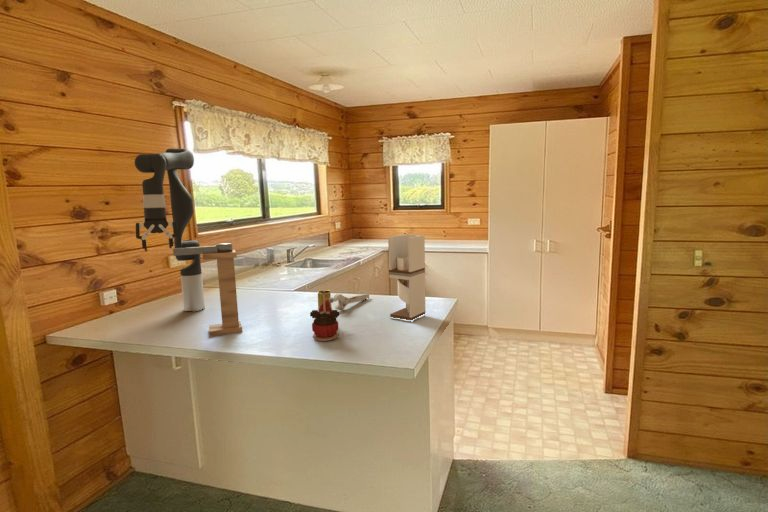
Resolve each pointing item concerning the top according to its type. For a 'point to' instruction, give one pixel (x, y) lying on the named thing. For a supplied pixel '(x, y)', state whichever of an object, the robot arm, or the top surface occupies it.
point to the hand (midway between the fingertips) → (158, 248)
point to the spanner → (204, 249)
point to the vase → (320, 297)
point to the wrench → (348, 300)
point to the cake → (325, 321)
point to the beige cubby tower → (408, 273)
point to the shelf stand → (226, 294)
